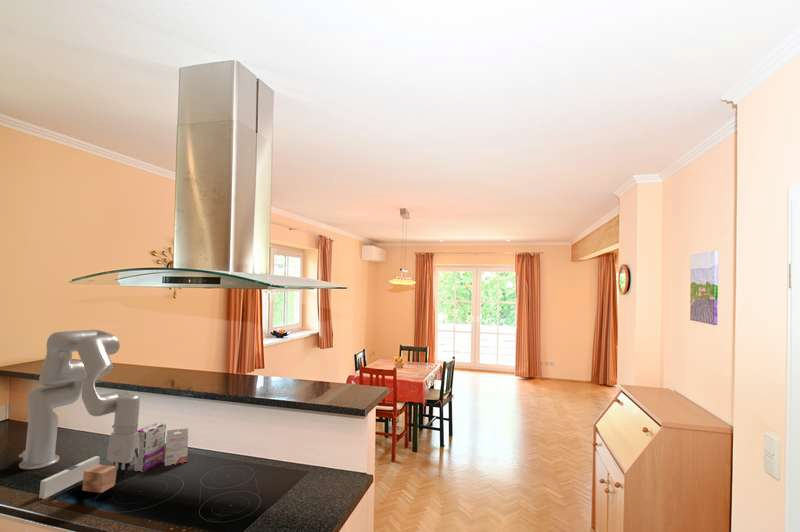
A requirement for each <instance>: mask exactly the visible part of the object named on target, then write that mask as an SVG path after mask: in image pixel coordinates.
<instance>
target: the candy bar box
mask: <svg viewBox="0 0 800 532" xmlns="http://www.w3.org/2000/svg"><path fill="white" fill-rule="evenodd" d="M166 426H167V424H166V423H165V422H155V423H153V424H150V425H147V426H145V427H143V428H140V429H137V432H139V442H140V448H139V456H138V458H137V463H136V464H134V465H133V466H134V467H133V471H134V472H138V471H140V472H139V473H144V471H145V472H146V471H148V470H150V469H152V468H155V466H158V465H159V464H161V463H163V462H165V447H166Z"/></svg>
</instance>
